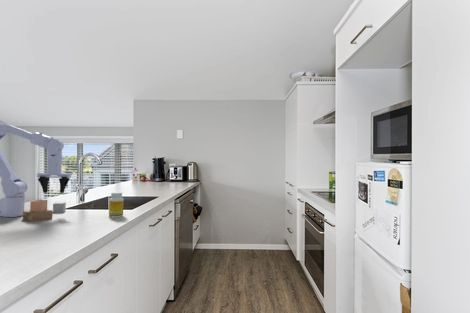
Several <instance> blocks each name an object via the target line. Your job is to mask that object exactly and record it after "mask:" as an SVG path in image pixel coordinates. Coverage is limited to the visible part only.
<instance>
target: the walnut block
mask: <svg viewBox="0 0 470 313" xmlns="http://www.w3.org/2000/svg"><path fill="white" fill-rule="evenodd" d="M52 219H53V209H47V210H45V211H42V212H30V209H29V210H24V211H23V215H22V220H23V221H27V222H30V221H31V223H34V222H39V221H40V222H41V221H47V220H52Z"/></svg>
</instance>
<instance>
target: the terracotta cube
mask: <svg viewBox="0 0 470 313" xmlns="http://www.w3.org/2000/svg"><path fill="white" fill-rule="evenodd" d="M29 207H30V208H29V210H30V212H42V211H45V210H48V199H35V200H31V201H30V206H29Z"/></svg>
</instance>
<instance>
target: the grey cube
mask: <svg viewBox="0 0 470 313" xmlns="http://www.w3.org/2000/svg"><path fill="white" fill-rule="evenodd" d="M66 203H67V202H66V201H64V202H63V201H59V202H58V201H56V202H54V203H53V204H52V210H53V212H52V214H55V213H65V212H66V205H67V204H66Z"/></svg>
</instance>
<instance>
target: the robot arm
mask: <svg viewBox="0 0 470 313" xmlns="http://www.w3.org/2000/svg"><path fill="white" fill-rule="evenodd" d="M6 135H13V136H17V137H21V138H24V139H26V140H29V142H30V144H32V145H35V146H38V147H41V148H44V149H47V150H48V151H47V166H46V168H47V170H46V171H47V172H37V173H36V177H37V180H38V182H39V183H40V187H41V188H42V192H43V193H44V194H46V193H48V190H49V189H48V187H49V181H50V178H56V179H57V178H58V181H59V193H60V194H63V193H65V189H66V186H67V185H68V183H69V181H70V180H71V178H72V173H62V168H63V166H62V165H63V164H62V163H63V149H64V146H65V145H64V142H63V141H62V140H60V138H59V139H58V138H57V139H56V138H54V136H49V135H46V134H44V133H43V132H42V131H41V132H40V131H39V132H37V131H36V132H33V133H32V132H30V131H27V130H25V129H22V128H19V127H17V126H14V125H11V124H6V123H3V122H0V141H1V140H2V139H3V138H4V137H5V136H6ZM0 178H1V182H0V184H1V187H2V192H3V194H4V196H2V197H0V217H6V218H18V217H21V216H22V217H23V211H25V199H26V195H25V193H26V192H27V191H28V184H27V183H26V182H25V181H23V180H22V179H21V177H20V176H18V175H17V174H16V173H15V171H14V169H13V168H12V167H11V165H10V163H9V161H8V159H7V158H6V156H5V155H4V153H3V151H2V150H1V148H0Z"/></svg>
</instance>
